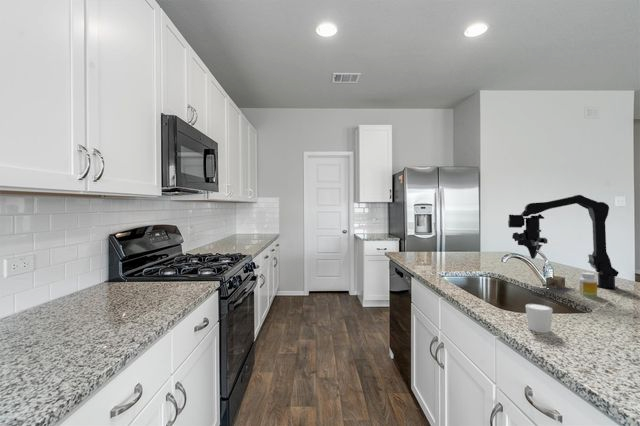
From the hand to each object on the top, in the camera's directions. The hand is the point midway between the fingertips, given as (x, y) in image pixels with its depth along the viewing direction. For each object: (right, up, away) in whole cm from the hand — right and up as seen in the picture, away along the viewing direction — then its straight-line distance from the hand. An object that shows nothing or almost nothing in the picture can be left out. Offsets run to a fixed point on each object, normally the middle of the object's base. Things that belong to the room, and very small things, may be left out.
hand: (533, 258), depth 149 cm
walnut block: (-1, -10, -14) cm, 17 cm away
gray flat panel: (-1, -12, -14) cm, 18 cm away
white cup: (-39, -14, -57) cm, 71 cm away
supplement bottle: (+5, -12, -25) cm, 29 cm away
